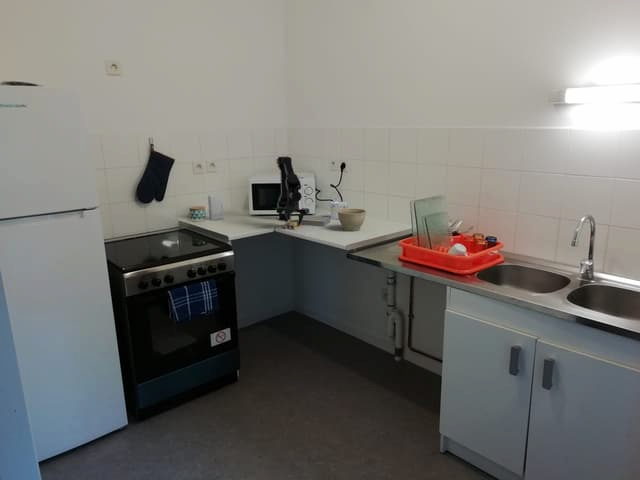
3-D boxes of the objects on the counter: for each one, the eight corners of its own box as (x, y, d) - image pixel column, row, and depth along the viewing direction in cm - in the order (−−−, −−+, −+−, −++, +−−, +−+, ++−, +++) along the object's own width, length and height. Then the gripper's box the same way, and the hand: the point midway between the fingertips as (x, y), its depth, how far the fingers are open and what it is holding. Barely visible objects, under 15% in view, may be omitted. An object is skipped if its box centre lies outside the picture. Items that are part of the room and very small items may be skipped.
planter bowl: (345, 225, 298) (345, 207, 295) (370, 228, 290) (370, 209, 287) (332, 230, 284) (332, 211, 282) (357, 233, 276) (358, 214, 274)
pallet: (285, 229, 289) (285, 222, 288) (291, 225, 298) (291, 219, 297) (294, 230, 287) (294, 223, 286) (300, 226, 296) (300, 219, 295)
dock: (298, 224, 300) (298, 219, 299) (305, 220, 312) (305, 215, 311) (323, 226, 295) (323, 220, 294) (330, 222, 307) (330, 216, 306)
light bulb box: (347, 217, 321) (347, 201, 318) (347, 219, 314) (347, 203, 311) (331, 217, 322) (331, 201, 319) (330, 219, 315) (330, 202, 312)
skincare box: (221, 217, 322) (220, 193, 318) (224, 219, 316) (223, 195, 313) (208, 218, 318) (207, 194, 314) (211, 220, 313) (210, 196, 309)
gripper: (272, 200, 284) (273, 226, 287) (302, 201, 278) (303, 229, 282) (280, 197, 294) (280, 223, 298) (309, 198, 288) (309, 225, 292)
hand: (293, 225), depth 292 cm, fingers open, 7 cm apart
